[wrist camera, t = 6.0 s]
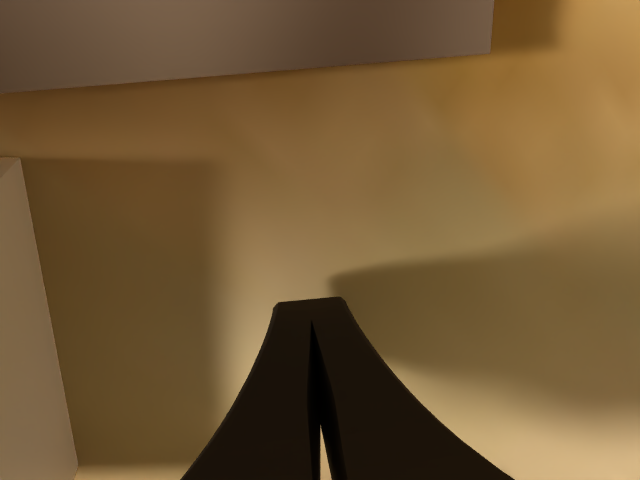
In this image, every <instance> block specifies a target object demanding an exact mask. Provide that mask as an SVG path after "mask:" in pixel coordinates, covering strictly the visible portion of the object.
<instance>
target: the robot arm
mask: <svg viewBox="0 0 640 480" xmlns="http://www.w3.org/2000/svg"><path fill="white" fill-rule="evenodd" d="M320 424H321V429H322V434H323V439H324V444H325V448H326V453H327V458H328V463H329V468H330V473H331V478H332V480H515V479H513V478H512V477H510V476H509V475H507V474H506V473H504V472H503V471H501V470H500V469H499V468H497V467H496V466H495V465H493V464H492V463H491V462H489V461H488V460H487V459H485V458H484V457H483V456H481V455H480V454H479V453H478V452H476V451H475V450H474V449H472V448H471V447H470V446H468V445H467V444H466V443H464V442H463V441H462V440H461V439H460V438H458V437H457V436H456V435H455V434H454V433H453V432H452V431H450V430H449V429H448V428H447V427H446V426H445V425H444V424H442V423H441V422H440V421H439V420H438V419H437V418H436V417H435V416H434V415H433V414H432V413H431V412H430V411H429V410H427V409H426V408H425V407H424V406H423V405H422V404H421V403H420V402H419V401H418V400H417V398H416V397H415V396H414V395H413V394H412V393H411V392H410V391H409V390H408V389H407V388H406V387H405V385H404V384H403V383H402V382H401V381H400V380H399V379H398V378H397V376H396V375H395V374H394V373H393V372H392V370H391V369H390V368H389V367H388V366H387V364H386V363H385V362H384V360H383V359H382V358H381V357H380V355H379V354H378V353H377V351H376V350H375V349H374V347H373V346H372V345H371V343H370V342H369V340H368V339H367V338H366V336H365V335H364V333H363V332H362V330H361V329H360V327H359V325H358V324H357V322H356V321H355V319H354V317H353V315H352V314H351V312H350V310H349V308H348V306H347V304H346V301H345V300H344V299H342V298H341V297H329V298H319V299H308V300H298V301H288V302H278V303H277V304H276V305H275V307H274V308H273V313H272V317H271V321H270V324H269V327H268V330H267V333H266V336H265V339H264V341H263V344H262V346H261V349H260V351H259V353H258V356H257V358H256V360H255V362H254V365H253V367H252V369H251V371H250V373H249V375H248V377H247V379H246V381H245V383H244V385H243V387H242V388H241V390H240V392H239V394H238V396H237V398H236V400H235V401H234V403H233V405H232V407H231V409H230V410H229V412H228V413H227V415H226V417H225V418H224V420H223V422H222V423H221V425H220V426H219V428H218V429H217V431H216V432H215V434H214V435H213V437H212V438H211V440H210V441H209V443H208V444H207V445H206V447H205V448H204V449H203V451H202V452H201V453H200V455H199V456H198V457H197V459H196V460H195V461H194V463H193V464H192V465H191V467H190V468H189V469H188V471H187V472H186V473H185V474H184V476H183V477H182V478H181V479H180V480H320Z"/></svg>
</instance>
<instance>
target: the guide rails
mask: <svg viewBox="0 0 640 480" xmlns="http://www.w3.org/2000/svg"><path fill="white" fill-rule="evenodd" d="M493 10H494V0H0V93H12V92H25V91H37V90H49V89H62V88H74V87H86V86H98V85H111V84H123V83H135V82H148V81H160V80H172V79H184V78H197V77H209V76H221V75H234V74H246V73H258V72H270V71H283V70H295V69H307V68H320V67H332V66H344V65H356V64H369V63H381V62H393V61H405V60H418V59H430V58H442V57H455V56H467V55H479V54H490V50H491V37H492V23H493Z"/></svg>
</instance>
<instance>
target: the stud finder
mask: <svg viewBox="0 0 640 480" xmlns="http://www.w3.org/2000/svg"><path fill="white" fill-rule="evenodd" d="M77 468H78V461H77V455H76V450H75V445H74V440H73V434H72V429H71V424H70V418H69V413H68V408H67V403H66V397H65V392H64V387H63V382H62V376H61V371H60V366H59V360H58V355H57V350H56V345H55V339H54V334H53V329H52V324H51V318H50V313H49V308H48V302H47V297H46V292H45V287H44V281H43V276H42V271H41V266H40V260H39V255H38V250H37V244H36V239H35V234H34V229H33V223H32V218H31V213H30V208H29V202H28V197H27V192H26V187H25V181H24V176H23V171H22V165H21V160H20V158H14V157H0V480H74V477H75V474H76V471H77Z"/></svg>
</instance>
